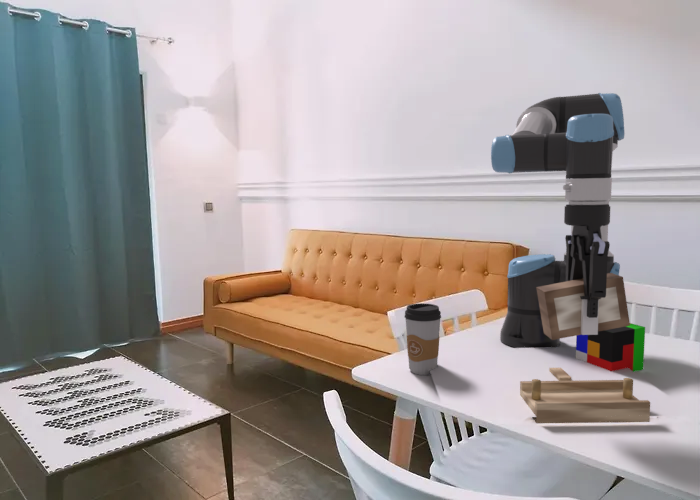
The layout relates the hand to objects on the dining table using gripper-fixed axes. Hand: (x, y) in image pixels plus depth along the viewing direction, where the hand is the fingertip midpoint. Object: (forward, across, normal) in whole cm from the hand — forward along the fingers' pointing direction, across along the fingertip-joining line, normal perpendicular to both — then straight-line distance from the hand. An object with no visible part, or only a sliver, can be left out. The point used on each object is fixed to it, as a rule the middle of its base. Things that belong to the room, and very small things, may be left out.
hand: (583, 329), depth 99 cm
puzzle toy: (+16, -24, +16) cm, 33 cm away
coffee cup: (+16, -23, -27) cm, 39 cm away
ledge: (+16, 0, 0) cm, 16 cm away
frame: (0, 0, 0) cm, 1 cm away
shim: (+15, -15, +2) cm, 22 cm away
